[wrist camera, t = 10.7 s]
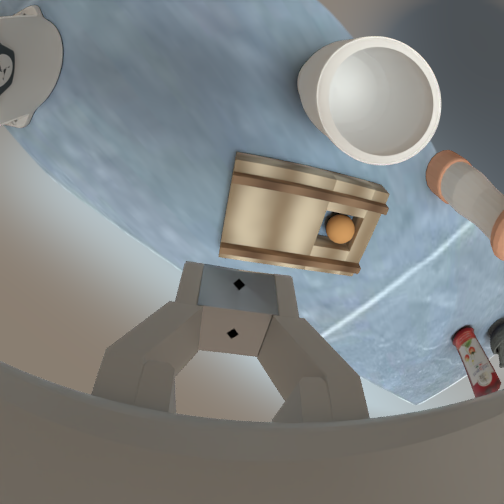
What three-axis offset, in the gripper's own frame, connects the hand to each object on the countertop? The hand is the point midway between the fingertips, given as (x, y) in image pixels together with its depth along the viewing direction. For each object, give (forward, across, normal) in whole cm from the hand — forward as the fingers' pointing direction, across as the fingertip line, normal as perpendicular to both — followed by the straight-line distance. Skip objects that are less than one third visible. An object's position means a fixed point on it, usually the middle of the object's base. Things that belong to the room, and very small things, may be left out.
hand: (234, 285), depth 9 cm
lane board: (+29, -10, +12) cm, 33 cm away
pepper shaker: (+29, -30, 0) cm, 42 cm away
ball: (+27, -16, +12) cm, 34 cm away
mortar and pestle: (+30, -79, +33) cm, 90 cm away
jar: (+29, -9, -6) cm, 31 cm away
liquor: (+29, -63, +35) cm, 78 cm away
